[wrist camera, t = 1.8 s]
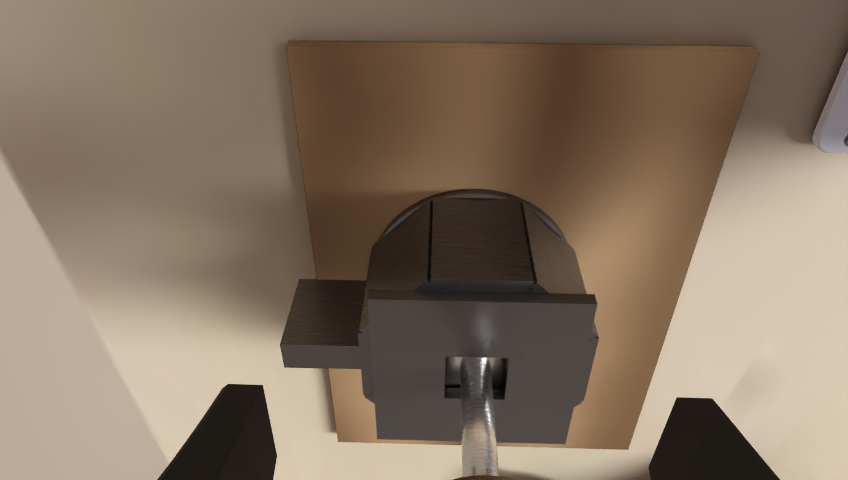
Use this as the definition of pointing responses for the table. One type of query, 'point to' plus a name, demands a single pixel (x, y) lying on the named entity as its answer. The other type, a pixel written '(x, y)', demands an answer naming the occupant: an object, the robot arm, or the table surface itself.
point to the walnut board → (526, 176)
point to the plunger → (477, 412)
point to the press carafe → (457, 318)
